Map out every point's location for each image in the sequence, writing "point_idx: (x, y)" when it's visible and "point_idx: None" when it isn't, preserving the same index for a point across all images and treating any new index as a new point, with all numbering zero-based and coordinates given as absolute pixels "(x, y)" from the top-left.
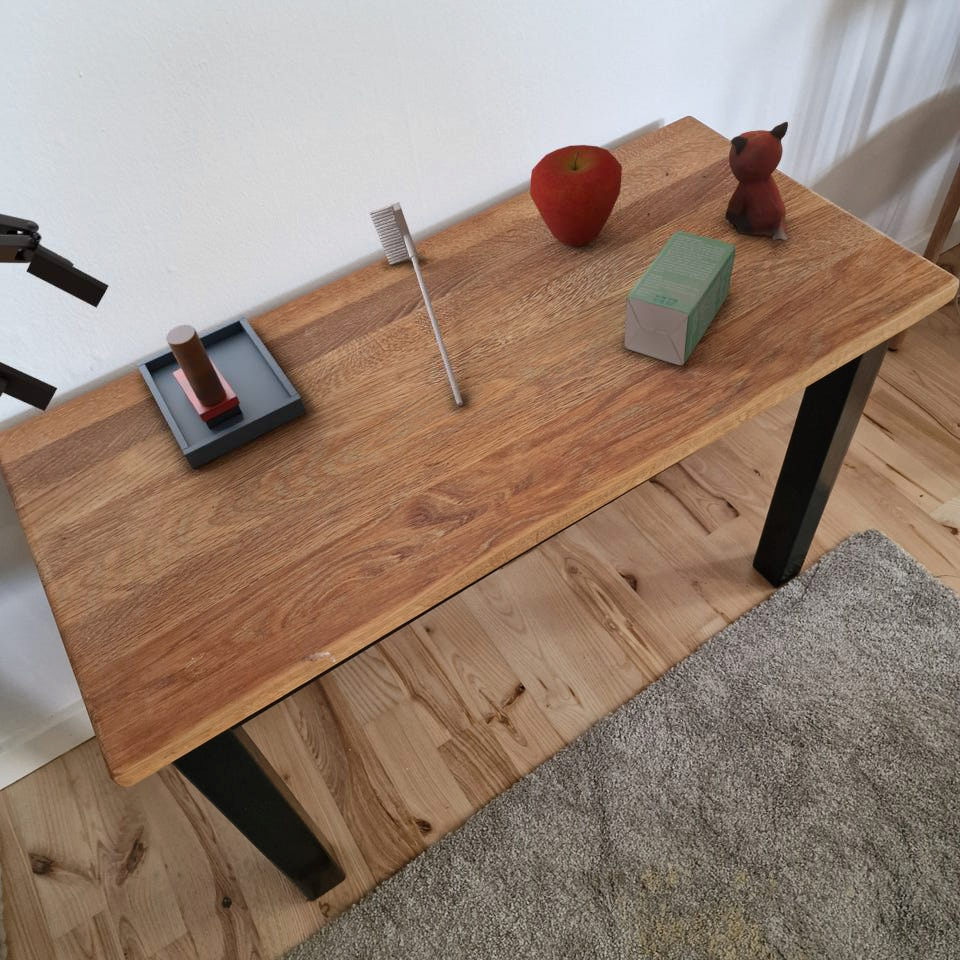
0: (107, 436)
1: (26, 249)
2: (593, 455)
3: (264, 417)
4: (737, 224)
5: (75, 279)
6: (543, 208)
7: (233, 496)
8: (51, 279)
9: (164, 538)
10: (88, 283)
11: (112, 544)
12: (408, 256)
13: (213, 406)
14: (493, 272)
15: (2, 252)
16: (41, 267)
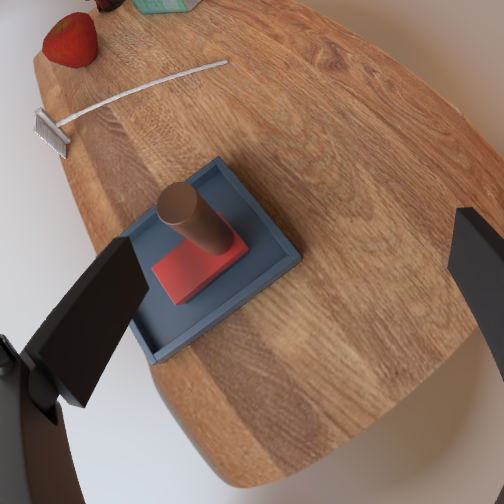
0: (250, 382)
1: (28, 383)
2: (275, 6)
3: (242, 184)
4: (113, 6)
5: (104, 286)
6: (78, 42)
7: (336, 204)
8: (100, 350)
9: (393, 260)
10: (114, 262)
11: (403, 315)
12: (64, 144)
13: (233, 233)
14: (98, 88)
15: (43, 443)
16: (74, 359)
